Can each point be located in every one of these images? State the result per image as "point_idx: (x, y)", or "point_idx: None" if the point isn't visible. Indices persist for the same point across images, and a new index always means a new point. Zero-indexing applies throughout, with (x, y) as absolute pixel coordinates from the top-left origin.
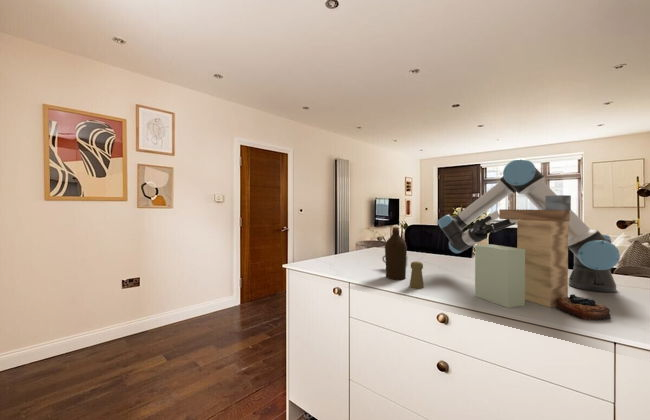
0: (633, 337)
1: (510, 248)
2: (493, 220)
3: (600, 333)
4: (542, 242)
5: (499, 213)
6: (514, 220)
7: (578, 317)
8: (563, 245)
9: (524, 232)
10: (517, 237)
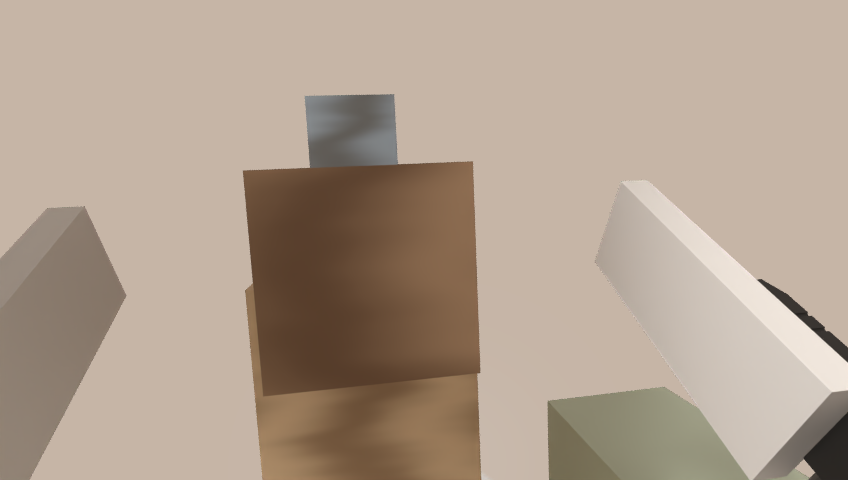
0: None
1: (622, 417)
2: (662, 350)
3: (484, 477)
4: None
5: (475, 253)
6: (24, 457)
7: None
8: None
9: None
10: (478, 430)
